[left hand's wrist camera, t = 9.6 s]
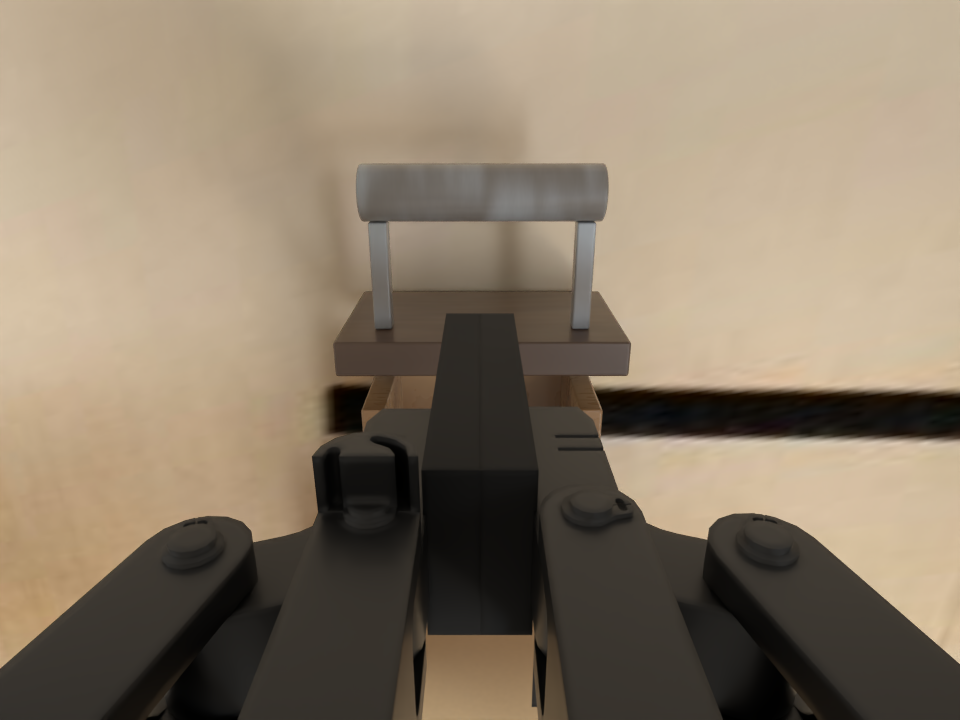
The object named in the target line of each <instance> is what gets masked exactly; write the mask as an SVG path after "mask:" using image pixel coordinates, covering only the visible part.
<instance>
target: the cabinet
mask: <svg viewBox="0 0 960 720" xmlns="http://www.w3.org/2000/svg"><path fill="white" fill-rule="evenodd" d="M426 659H427V669H426V680H425V691H424V702H423V713H422V720H538V712H537V707H532V684H533V659H534V626H533V630H532V635H428V630H427V629H426Z"/></svg>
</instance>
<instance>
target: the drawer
mask: <svg viewBox="0 0 960 720" xmlns="http://www.w3.org/2000/svg"><path fill="white" fill-rule="evenodd" d="M356 198H357V207H358V212H359V216H360V218H361V220H362V221H364V222H369V223H368V231H369V247H370V262H371V278H372V292H364V294H363V295H362V297H361V299H360V300H359V302H358V304H357V305H356V307H355V309H354V310H353V312H352V314H351V315H350V317H349V318H348V320H347V322H346V323H345V325H344V327H343V328H342V330H341V332H340V333H339V335H338V337H337V338H336V340H335V342H334V344H333V347H334V358H335V369H336V375H337V376H375V377H374V379H373V382H372V385H371V387H370V390H369V393H368V395H367V398H366V400H365V403H364V406H363V408H362V411H361V412H362V425H363V431H364V428H365V426H366V423H367V421H368V420H370V419H371V418H372V417H373V416H375V415H376V414H377V413H378V412H379V411H381V410H382V409H431V406H432V400H433V393H434V387H435V381H436V374H437V368H438V362H439V356H440V349H441V343H442V337H443V331H444V324H445V318H446V313H514V318H515V324H516V331H517V337H518V343H519V349H520V356H521V362H522V368H523V374H524V381H525V387H526V393H527V400H528V406H529V407H578V408H580V409H581V410H582V411H583V412H584V413H586V414H587V415H588V416H589V417H591V418H592V419H593V420H594V423H595V426H596V429H597V431H598V434H599V438H600V437H601V424H602V409H601V406H600V404H599V401H598V399H597V396H596V394H595V391H594V389H593V386H592V384H591V381H590V379H589V376H627V375H628V372H629V361H630V350H631V343H630V341H629V339H628V338H627V336H626V335H625V333H624V331H623V330H622V328H621V327H620V325H619V323H618V322H617V320H616V319H615V317H614V316H613V314H612V312H611V311H610V309H609V308H608V306H607V304H606V303H605V301H604V300H603V298H602V296H601V295H600V293H599V292H592V280H593V265H594V250H595V235H596V223H595V222H594V221H602V220H603V219H604V217H605V214H606V209H607V202H608V172H607V168H606V165H605V164H359V166H358V169H357V175H356ZM388 221H576V222H575V240H574V259H573V277H572V292H392V276H391V257H390V238H389V222H388Z"/></svg>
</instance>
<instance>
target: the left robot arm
mask: <svg viewBox="0 0 960 720" xmlns="http://www.w3.org/2000/svg"><path fill="white" fill-rule="evenodd" d="M312 461H313V470H314V479H315V488H316V497H317V506H318V514H317V517H316V519H315V522H314V524H313V526H312V527H310V528H307V529H305V530H303V531H301V532H297V533H294V534H290V535H287V536H283V537H278V538H273V539H268V540H263V541H259V542H254V543H253V540H252V533H251V530H250V529H249V528H248V527H247V526H246V525H245V524H244V523H243V522H241V521H238V520H235V519H232V518H229V517H218V516H206V517H198V518H193V519H189V520H185V521H183V522H180V523H178V524H175V525H173V526H170V527H168V528H165V529H163V530H162V531H160V532H159V533H157V534H156V535H154V536H153V537H151V538H150V539H148V540H147V541H146V542H144V543H143V544H142V545H141V546H140V547H139V548H138V549H136V550H135V551H134V552H133V553H132V554H131V555H130V556H128V557H127V558H126V559H125V560H124V561H123V562H122V563H120V564H119V565H118V566H117V567H116V568H115V569H114V570H112V571H111V572H110V573H109V574H108V575H107V576H106V577H104V578H103V579H102V580H101V581H100V582H99V583H98V584H97V585H95V586H94V587H93V588H92V589H91V590H90V591H89V592H87V593H86V594H85V595H84V596H83V597H82V598H81V599H79V600H78V601H77V602H76V603H75V604H74V605H73V606H71V607H70V608H69V609H68V610H67V611H66V612H65V613H63V614H62V615H61V616H60V617H59V618H58V619H57V620H55V621H54V622H53V623H52V624H51V625H50V626H49V627H47V628H46V629H45V630H44V631H43V632H42V633H41V634H39V635H38V636H37V637H36V638H35V639H34V640H33V641H31V642H30V643H29V644H28V645H27V646H26V647H25V648H23V649H22V650H21V651H20V652H19V653H18V654H17V655H15V656H14V657H13V658H12V659H11V660H10V661H9V662H7V663H6V664H5V665H4V666H3V667H2V668H1V669H0V720H422V713H423V702H424V691H425V680H426V669H427V659H426V629H427V630H428V635H532V630H533V626H534V659H533V684H532V707H537V712H538V720H960V664H959V663H958V662H957V661H956V660H954V659H953V658H952V657H951V656H950V655H949V654H948V653H946V652H945V651H944V650H943V649H942V648H941V647H939V646H938V645H937V644H936V643H935V642H934V641H933V640H931V639H930V638H929V637H928V636H927V635H926V634H924V633H923V632H922V631H921V630H920V629H919V628H918V627H916V626H915V625H914V624H913V623H912V622H911V621H910V620H908V619H907V618H906V617H905V616H904V615H903V614H901V613H900V612H899V611H898V610H897V609H896V608H895V607H893V606H892V605H891V604H890V603H889V602H888V601H886V600H885V599H884V598H883V597H882V596H881V595H880V594H878V593H877V592H876V591H875V590H874V589H873V588H872V587H870V586H869V585H868V584H867V583H866V582H865V581H863V580H862V579H861V578H860V577H859V576H858V575H857V574H855V573H854V572H853V571H852V570H851V569H850V568H848V567H847V566H846V565H845V564H844V563H843V562H842V561H840V560H839V559H838V558H837V557H836V556H835V555H834V554H832V553H831V552H830V551H829V550H828V549H827V548H825V547H824V546H823V545H822V544H821V543H820V542H819V541H817V540H816V539H815V538H814V537H812V536H811V535H809V534H808V533H806V532H805V531H803V530H802V529H800V528H799V527H797V526H795V525H793V524H790V523H788V522H785V521H783V520H780V519H778V518H775V517H771V516H767V515H762V514H754V513H747V514H732V515H729V516H726V517H722V518H719V519H718V520H717V521H716V522H715V523H714V524H713V525H712V526H711V527H710V528H709V533H708V540H705V539H700V538H696V537H691V536H686V535H681V534H676V533H673V532H669V531H665V530H662V529H659V528H657V527H654V526H652V525H650V524H648V523H646V521H645V518H644V516H643V513H642V511H641V510H640V508H639V507H638V506H637V504H636V503H635V501H634V500H632V499H631V498H629V497H628V496H626V495H625V494H623V493H622V492H620V491H619V490H618V488H617V485H616V482H615V479H614V476H613V474H612V471H611V468H610V465H609V462H608V460H607V457H606V454H605V451H603V446H602V443H601V440H600V438H599V434H598V431H597V429H596V426H595V423H594V420H593V419H592V418H591V417H589V416H588V415H587V414H586V413H584V412H583V411H582V410H581V409H580V408H578V407H529V406H528V400H527V393H526V387H525V381H524V374H523V368H522V362H521V356H520V349H519V343H518V337H517V331H516V324H515V318H514V313H446V318H445V324H444V331H443V337H442V343H441V349H440V356H439V362H438V368H437V374H436V381H435V387H434V393H433V400H432V406H431V409H382V410H381V411H379V412H378V413H377V414H376V415H375V416H373V417H372V418H371V419H370V420H368V421H367V423H366V426H365V428H364V431H363V432H359V433H352V434H348V435H345V436H341V437H338V438H335V439H333V440H331V441H329V442H328V443H326V444H324V445H322V446H321V447H320V448H319V449H318V450H317V451H316V452H315V454H314V455H313V456H312Z"/></svg>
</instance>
